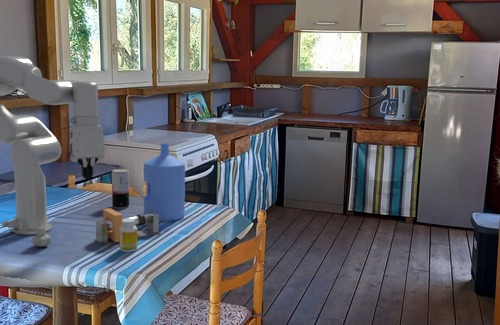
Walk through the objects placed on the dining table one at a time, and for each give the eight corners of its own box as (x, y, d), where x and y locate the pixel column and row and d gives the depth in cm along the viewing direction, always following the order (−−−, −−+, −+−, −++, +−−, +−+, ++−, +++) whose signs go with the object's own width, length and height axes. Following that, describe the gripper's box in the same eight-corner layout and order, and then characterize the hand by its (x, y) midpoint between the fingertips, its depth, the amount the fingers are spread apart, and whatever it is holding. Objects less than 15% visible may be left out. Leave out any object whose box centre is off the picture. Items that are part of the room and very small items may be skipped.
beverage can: (109, 207, 211) (108, 171, 208) (117, 203, 217) (116, 168, 214) (124, 209, 209) (124, 172, 206) (131, 205, 215) (131, 169, 213)
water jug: (190, 213, 207) (192, 143, 202) (174, 224, 193) (175, 148, 187) (154, 208, 211) (154, 140, 206) (136, 219, 197) (135, 145, 191)
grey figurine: (49, 242, 169) (48, 218, 167) (52, 249, 163) (51, 224, 162) (31, 244, 166) (30, 220, 165) (33, 251, 160) (32, 226, 159)
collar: (115, 242, 169) (115, 215, 167) (103, 234, 176) (103, 209, 174) (122, 240, 170) (122, 214, 169) (110, 233, 177) (110, 208, 176)
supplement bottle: (116, 249, 165) (115, 219, 163) (130, 245, 169) (130, 216, 167) (126, 253, 161) (125, 223, 160) (140, 249, 165) (140, 220, 164)
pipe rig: (102, 245, 168) (101, 224, 166) (94, 240, 172) (94, 219, 171) (160, 234, 181) (160, 214, 180) (151, 229, 185) (151, 210, 184)
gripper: (66, 123, 158) (68, 183, 161) (113, 121, 167) (114, 178, 170) (58, 121, 163) (60, 178, 167) (103, 119, 173) (104, 173, 176)
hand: (87, 178), depth 168 cm, fingers closed
